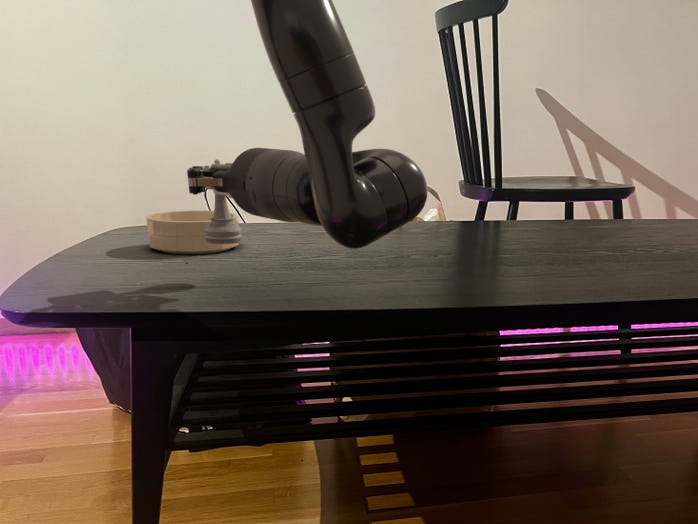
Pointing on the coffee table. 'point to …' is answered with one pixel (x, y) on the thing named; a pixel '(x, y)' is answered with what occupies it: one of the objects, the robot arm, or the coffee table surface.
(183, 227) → the bowl
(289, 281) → the coffee table surface
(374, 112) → the robot arm
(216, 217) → the chess piece
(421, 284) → the coffee table surface
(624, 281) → the coffee table surface
